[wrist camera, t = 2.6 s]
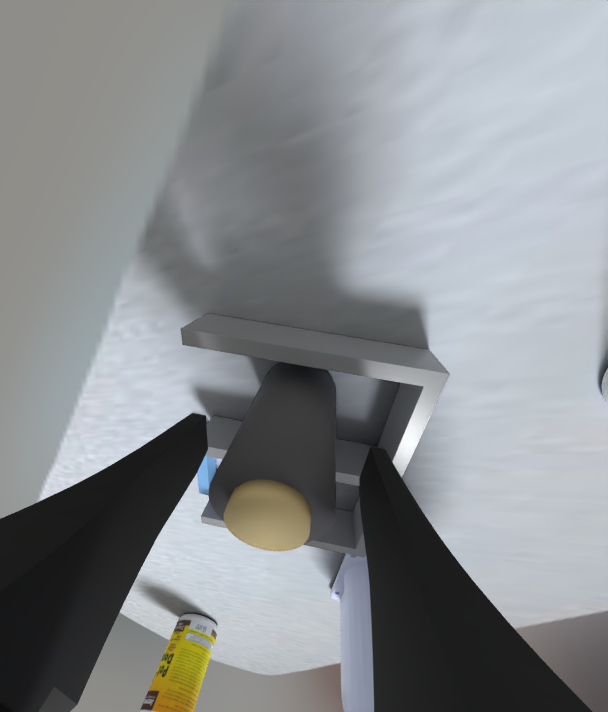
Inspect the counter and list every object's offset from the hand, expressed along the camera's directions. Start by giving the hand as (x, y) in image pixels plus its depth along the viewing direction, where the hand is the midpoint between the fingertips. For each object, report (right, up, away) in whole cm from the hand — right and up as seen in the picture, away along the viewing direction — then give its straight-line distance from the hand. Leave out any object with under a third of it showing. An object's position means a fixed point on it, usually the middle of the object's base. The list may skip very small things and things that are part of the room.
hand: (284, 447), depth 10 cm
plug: (+1, +2, +4) cm, 4 cm away
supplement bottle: (-13, -32, +22) cm, 41 cm away
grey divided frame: (0, -1, +5) cm, 6 cm away
